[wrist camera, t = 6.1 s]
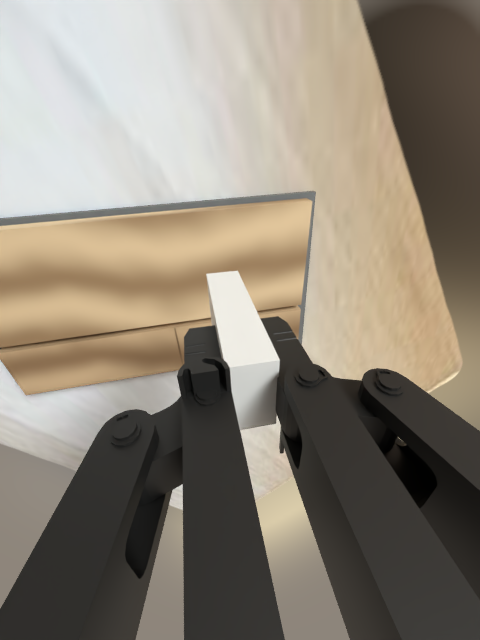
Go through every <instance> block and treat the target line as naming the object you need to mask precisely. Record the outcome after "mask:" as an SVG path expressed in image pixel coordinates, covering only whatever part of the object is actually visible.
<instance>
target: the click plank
mask: <svg viewBox="0 0 480 640" xmlns="http://www.w3.org/2000/svg"><path fill="white" fill-rule="evenodd" d="M311 210H312V201H311V200H309V199H307V198H303V199H292V200H281V201H270V202H259V203H248V204H237V205H226V206H215V207H204V208H193V209H182V210H171V211H160V212H149V213H138V214H127V215H116V216H105V217H94V218H83V219H72V220H61V221H50V222H39V223H28V224H17V225H6V226H0V348H2V347H9V346H16V345H23V344H30V343H37V342H44V341H51V340H58V339H65V338H72V337H79V336H86V335H93V334H100V333H106V332H113V331H120V330H127V329H134V328H141V327H148V326H155V325H162V324H169V323H176V322H183V321H190V320H197V319H204V318H211V314H210V304H209V295H208V285H207V276H206V274H209V273H219V272H229V271H238V272H239V274H240V277H241V279H242V281H243V283H244V285H245V287H246V289H247V291H248V294H249V296H250V298H251V300H252V302H253V304H254V306H255V308H256V310H257V311H260V310H267V309H274V308H281V307H288V306H295V305H301V302H302V293H303V284H304V274H305V265H306V256H307V247H308V238H309V228H310V219H311Z"/></svg>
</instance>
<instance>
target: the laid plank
mask: <svg viewBox="0 0 480 640" xmlns="http://www.w3.org/2000/svg"><path fill="white" fill-rule="evenodd" d="M257 313H258V315H259V317H260V318H268V317H276V316H279V317H280V318H282V319H283V320H285V321H286V322H287V323H288V324H289V326H290V327H291V329H292V332H294V334H295V335H296V337H297V339H298V337H299V325H300V313H301V309H300V308H299V307H298V305H295V306H288V307H281V308H274V309H267V310H260V311H257ZM205 326H212V323H211V318H204V319H197V320H190V321H183V322H176V323H169V324H162V325H155V326H148V327H141V328H134V329H127V330H120V331H113V332H106V333H100V334H93V335H86V336H79V337H72V338H65V339H58V340H51V341H44V342H37V343H30V344H23V345H16V346H9V347H2V348H1V349H0V359H1V361H2V362H3V364H4V365H5V367H6V368H7V369H8V371H9V372H10V374H11V375H12V376H13V378H14V379H15V381H16V382H17V383H18V385H19V386H20V388H21V389H22V390H23V392H24V393H25V395H30V394H36V393H42V392H48V391H54V390H60V389H66V388H72V387H79V386H85V385H91V384H97V383H103V382H109V381H115V380H121V379H127V378H133V377H139V376H145V375H151V374H157V373H163V372H169V371H175V370H179V369H180V368H181V367H182V366H183V364H184V336H185V335H186V333H187V331H188V330H189V328H197V327H205Z"/></svg>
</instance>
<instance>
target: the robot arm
mask: <svg viewBox="0 0 480 640" xmlns="http://www.w3.org/2000/svg"><path fill="white" fill-rule="evenodd" d="M206 276H207V285H208V295H209V304H210V314H211V323H212V326H205V327H197V328H189V330H188V331H187V333H186V335H185V336H184V364H183V366H182V367H181V368H180V369H179V372H178V375H177V378H178V383H179V387H180V392H181V397H180V398H179V399H178V400H177V401H176V402H175V403H174V404H173V405H171V406H170V407H168V408H166V409H164V410H162V411H160V412H158V413H155V414H153V415H150V414H148V413H147V412H146V411H142V410H137V409H136V410H128V411H124V412H122V413H120V414H117V415H115V416H114V417H113V418H111V419H110V420H109V421H107V422H106V423H105V424H104V426H103V427H102V428H101V430H100V431H99V432H98V434H97V436H96V438H95V440H94V441H93V443H92V445H91V447H90V449H89V450H88V452H87V454H86V456H85V458H84V459H83V461H82V463H81V465H80V467H79V468H78V470H77V472H76V474H75V476H74V477H73V479H72V481H71V483H70V485H69V487H68V488H67V490H66V492H65V494H64V495H63V497H62V499H61V501H60V503H59V504H58V506H57V508H56V510H55V512H54V513H53V515H52V517H51V519H50V521H49V522H48V524H47V526H46V528H45V530H44V531H43V533H42V535H41V537H40V539H39V541H38V542H37V544H36V546H35V548H34V549H33V551H32V553H31V555H30V557H29V558H28V560H27V562H26V564H25V566H24V567H23V569H22V571H21V573H20V575H19V576H18V578H17V580H16V582H15V584H14V585H13V587H12V589H11V591H10V593H9V595H8V596H7V598H6V600H5V602H4V604H3V605H2V607H1V609H0V640H135V639H136V635H137V631H138V627H139V623H140V619H141V614H142V611H143V607H144V603H145V599H146V595H147V590H148V587H149V583H150V578H151V574H152V570H153V566H154V562H155V558H156V554H157V550H158V546H159V541H160V538H161V534H162V530H163V526H164V521H165V518H166V514H167V509H168V506H169V502H170V498H171V494H172V490H173V489H175V488H176V487H178V486H180V485H181V484H183V549H184V551H183V554H184V640H285V639H284V634H283V630H282V625H281V620H280V616H279V611H278V606H277V602H276V597H275V592H274V587H273V583H272V578H271V573H270V569H269V564H268V559H267V555H266V550H265V545H264V541H263V536H262V531H261V527H260V522H259V517H258V513H257V508H256V503H255V498H254V494H253V489H252V484H251V480H250V475H249V470H248V466H247V461H246V456H245V452H244V447H243V442H242V438H241V433H240V430H243V429H248V428H254V427H259V426H265V425H270V424H276V414H277V416H278V418H279V421H280V424H281V432H280V444H279V448H280V454H281V453H284V449H285V451H286V454H287V457H288V460H289V463H290V466H291V469H292V472H293V475H294V478H295V480H296V483H297V486H298V489H299V492H300V495H301V498H302V501H303V504H304V507H305V510H306V513H307V515H308V518H309V521H310V524H311V527H312V530H313V533H314V536H315V539H316V542H317V545H318V547H319V550H320V553H321V556H322V559H323V562H324V565H325V568H326V571H327V574H328V577H329V579H330V582H331V585H332V588H333V591H334V594H335V597H336V600H337V603H338V606H339V608H340V611H341V614H342V617H343V620H344V623H345V626H346V629H347V632H348V635H349V638H350V640H480V431H479V430H477V429H476V428H474V427H473V426H472V425H470V424H469V423H468V422H466V421H465V420H463V419H462V418H461V417H459V416H458V415H456V414H455V413H454V412H453V411H451V410H450V409H448V408H447V407H446V406H444V405H443V404H442V403H440V402H439V401H437V400H436V399H435V398H433V397H432V396H431V395H429V394H428V393H427V392H425V391H424V390H422V389H421V388H420V387H418V386H417V385H416V384H414V383H413V382H411V381H410V380H409V379H407V378H406V377H404V376H402V375H401V374H399V373H397V372H394V371H391V370H388V369H379V368H377V369H372V370H369V371H367V372H366V373H365V374H364V376H363V378H362V381H359V380H349V379H340V378H334V377H332V376H331V375H330V374H329V373H328V372H327V371H326V369H324V368H322V367H320V366H319V365H316V364H313V363H312V361H311V360H310V358H309V357H308V355H307V353H306V352H305V350H304V348H303V347H302V345H301V344H300V342H299V340H298V339H297V337H296V335H295V334H294V332H292V329H291V327H290V326H289V324H288V323H287V322H286V321H285V320H283V319H282V318H280V317H279V316H276V317H268V318H260V317H259V315H258V313H257V310H256V308H255V306H254V304H253V302H252V300H251V298H250V296H249V294H248V291H247V289H246V287H245V285H244V283H243V281H242V279H241V277H240V274H239V272H238V271H229V272H219V273H209V274H206ZM398 437H399V438H400V439H401V440H402V441H401V440H400V439H399V438H398Z"/></svg>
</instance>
